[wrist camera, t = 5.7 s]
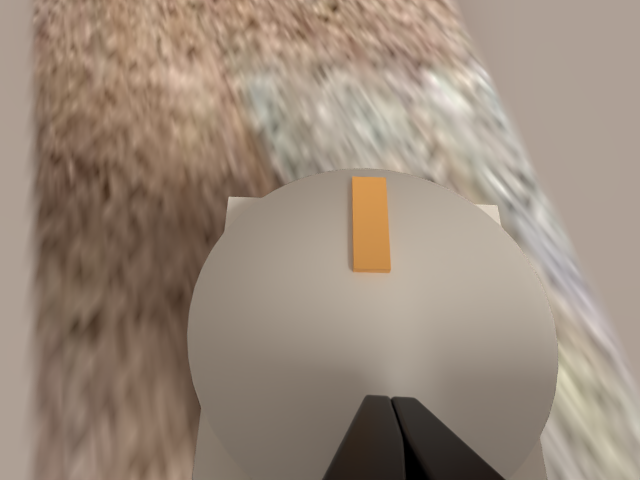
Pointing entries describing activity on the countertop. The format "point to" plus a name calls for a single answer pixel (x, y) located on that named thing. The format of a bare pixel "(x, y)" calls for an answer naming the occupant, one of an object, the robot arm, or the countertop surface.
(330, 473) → the robot arm
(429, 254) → the knob
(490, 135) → the countertop surface
